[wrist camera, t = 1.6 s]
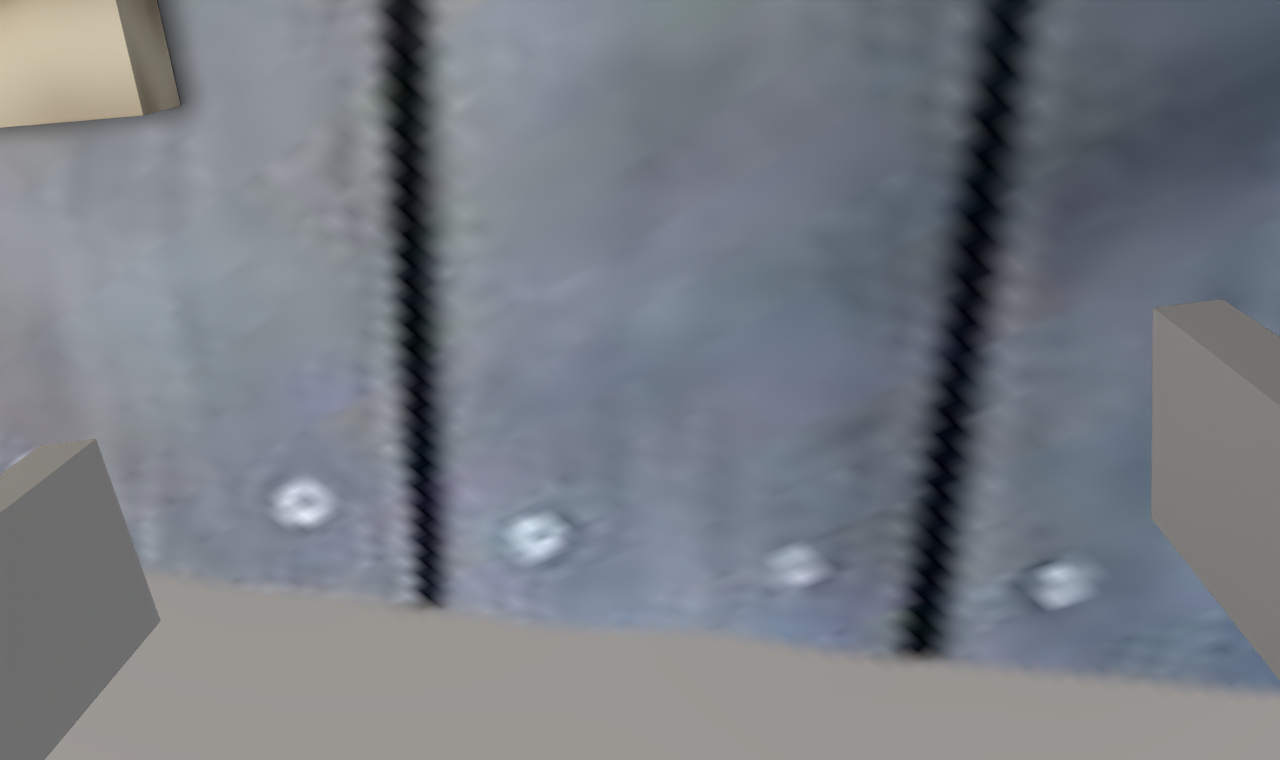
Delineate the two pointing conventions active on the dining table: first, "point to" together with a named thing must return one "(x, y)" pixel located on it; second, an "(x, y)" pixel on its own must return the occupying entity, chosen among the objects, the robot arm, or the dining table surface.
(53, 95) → the board
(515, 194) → the dining table surface
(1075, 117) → the dining table surface
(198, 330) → the dining table surface
